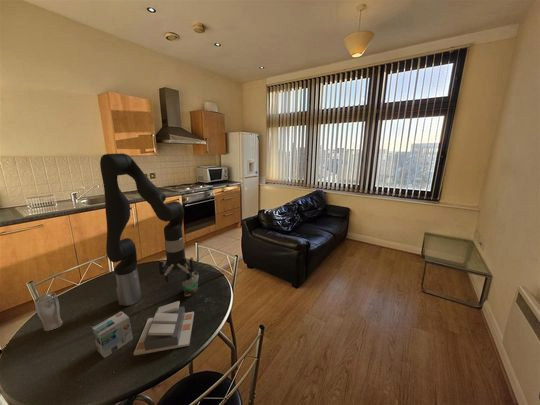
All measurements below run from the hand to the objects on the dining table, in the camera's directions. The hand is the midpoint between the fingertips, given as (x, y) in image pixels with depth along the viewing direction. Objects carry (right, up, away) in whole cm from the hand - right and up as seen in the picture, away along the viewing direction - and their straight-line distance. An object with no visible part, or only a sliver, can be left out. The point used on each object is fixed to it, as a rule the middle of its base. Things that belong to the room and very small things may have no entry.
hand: (178, 280), depth 98 cm
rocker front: (-2, -16, -12) cm, 20 cm away
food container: (-1, -14, +22) cm, 26 cm away
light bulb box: (-21, -22, -10) cm, 32 cm away
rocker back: (-4, -13, 0) cm, 14 cm away
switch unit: (-3, -21, -4) cm, 21 cm away
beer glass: (-55, -20, -1) cm, 58 cm away
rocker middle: (-3, -14, -6) cm, 16 cm away
